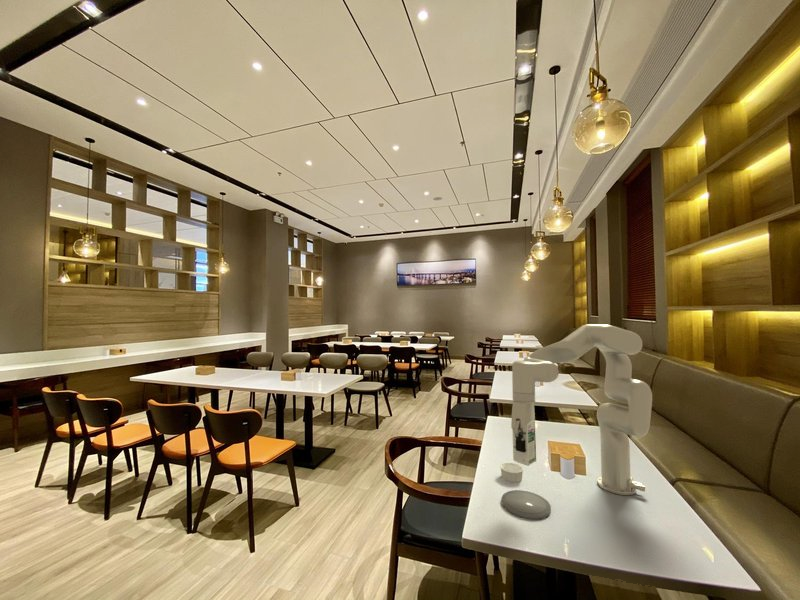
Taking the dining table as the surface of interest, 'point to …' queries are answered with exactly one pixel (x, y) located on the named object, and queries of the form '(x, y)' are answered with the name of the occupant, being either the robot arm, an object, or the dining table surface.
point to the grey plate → (526, 504)
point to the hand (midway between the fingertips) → (524, 447)
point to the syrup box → (526, 446)
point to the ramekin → (511, 472)
